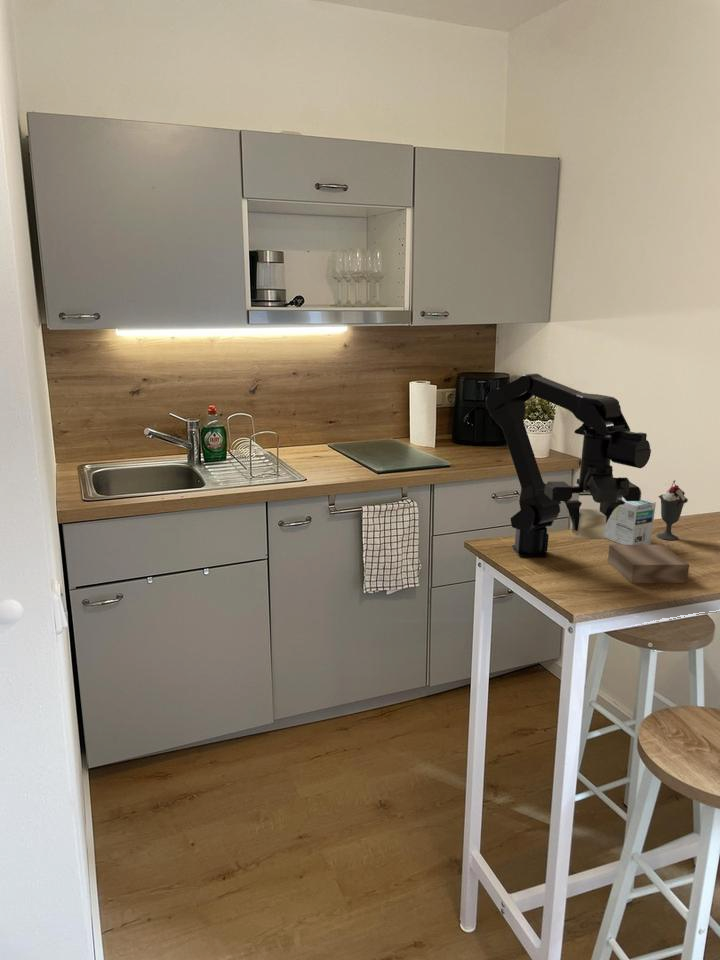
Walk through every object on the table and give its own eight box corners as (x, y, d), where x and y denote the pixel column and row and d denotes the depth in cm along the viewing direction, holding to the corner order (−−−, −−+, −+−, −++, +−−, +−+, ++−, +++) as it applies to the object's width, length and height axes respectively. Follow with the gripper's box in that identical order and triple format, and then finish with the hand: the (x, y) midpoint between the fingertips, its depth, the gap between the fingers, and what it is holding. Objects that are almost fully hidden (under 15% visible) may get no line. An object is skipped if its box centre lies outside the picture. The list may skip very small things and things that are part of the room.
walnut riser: (631, 583, 150) (633, 565, 149) (607, 561, 162) (609, 544, 161) (686, 582, 151) (689, 564, 150) (659, 561, 163) (661, 544, 162)
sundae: (660, 541, 175) (668, 482, 172) (648, 532, 182) (656, 474, 178) (686, 542, 176) (695, 482, 172) (674, 532, 182) (682, 475, 178)
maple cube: (580, 539, 150) (582, 516, 149) (571, 531, 155) (574, 509, 154) (603, 539, 151) (606, 516, 149) (594, 531, 156) (596, 509, 154)
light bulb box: (651, 545, 173) (657, 502, 170) (632, 549, 170) (638, 505, 167) (616, 531, 182) (621, 490, 179) (597, 535, 179) (602, 493, 176)
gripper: (565, 467, 140) (557, 543, 144) (658, 468, 142) (648, 543, 146) (546, 454, 151) (540, 525, 155) (633, 455, 152) (624, 525, 156)
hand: (588, 530), depth 153 cm, fingers closed on maple cube, 5 cm apart
